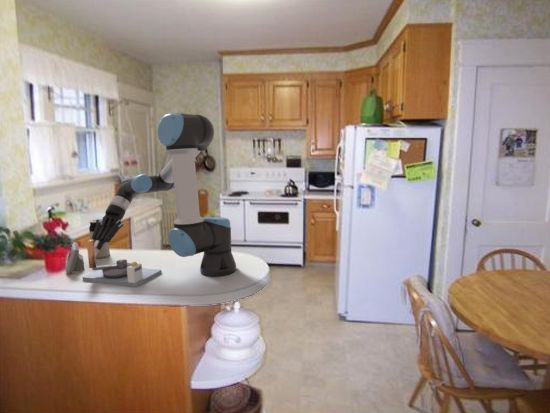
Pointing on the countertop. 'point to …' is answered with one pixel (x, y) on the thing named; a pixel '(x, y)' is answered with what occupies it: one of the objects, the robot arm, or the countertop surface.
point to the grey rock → (74, 260)
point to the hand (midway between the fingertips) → (92, 255)
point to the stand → (134, 277)
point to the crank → (108, 270)
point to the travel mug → (105, 248)
